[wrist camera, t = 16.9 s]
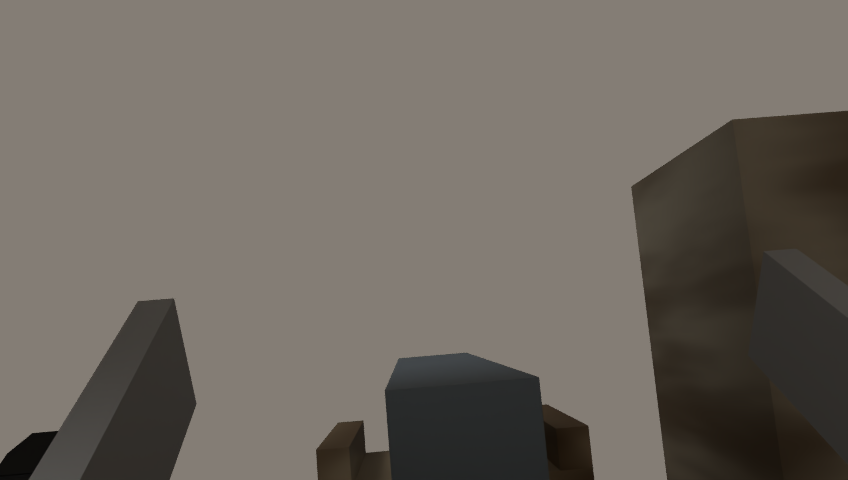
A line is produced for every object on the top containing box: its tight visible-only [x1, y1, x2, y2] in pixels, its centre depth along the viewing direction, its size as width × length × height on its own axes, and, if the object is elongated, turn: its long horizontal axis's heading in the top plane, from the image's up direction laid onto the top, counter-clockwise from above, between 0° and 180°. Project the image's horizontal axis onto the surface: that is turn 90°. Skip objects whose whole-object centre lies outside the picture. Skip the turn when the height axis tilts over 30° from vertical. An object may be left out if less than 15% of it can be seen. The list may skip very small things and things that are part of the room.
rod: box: [385, 353, 549, 480], centre depth 30 cm, size 4×24×4 cm, turn 1°
